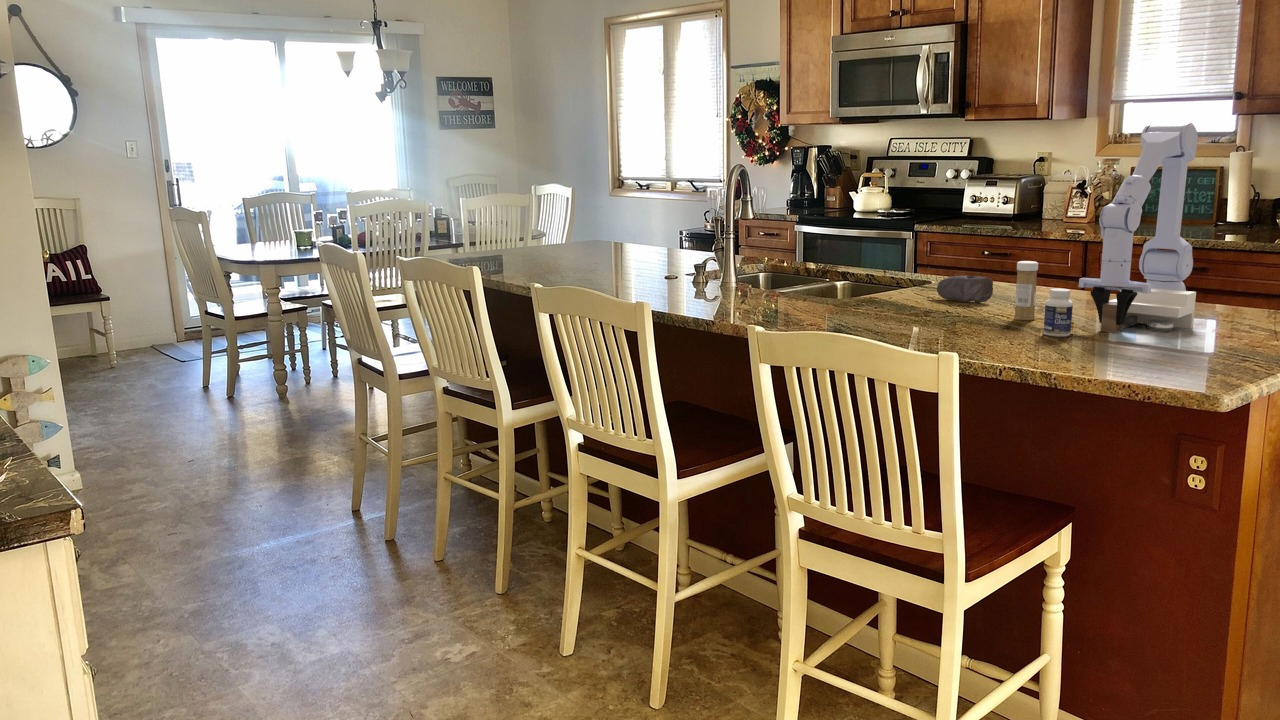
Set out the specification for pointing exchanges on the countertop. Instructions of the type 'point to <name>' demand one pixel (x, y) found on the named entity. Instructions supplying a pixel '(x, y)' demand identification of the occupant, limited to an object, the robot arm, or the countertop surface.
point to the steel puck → (1160, 325)
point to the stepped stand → (1164, 307)
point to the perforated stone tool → (966, 288)
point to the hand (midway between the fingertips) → (1111, 323)
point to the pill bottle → (1058, 313)
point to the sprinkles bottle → (1026, 290)
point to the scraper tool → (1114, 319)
